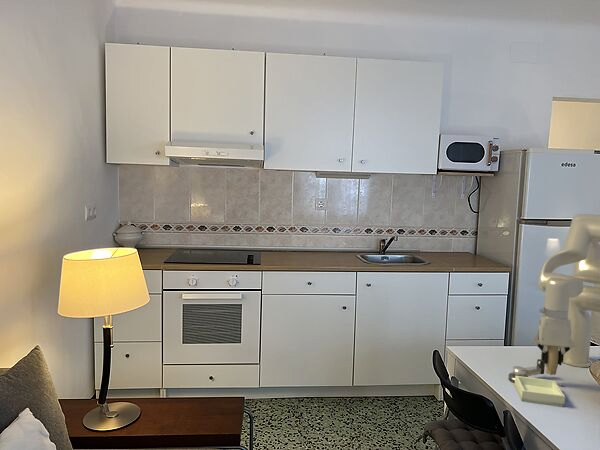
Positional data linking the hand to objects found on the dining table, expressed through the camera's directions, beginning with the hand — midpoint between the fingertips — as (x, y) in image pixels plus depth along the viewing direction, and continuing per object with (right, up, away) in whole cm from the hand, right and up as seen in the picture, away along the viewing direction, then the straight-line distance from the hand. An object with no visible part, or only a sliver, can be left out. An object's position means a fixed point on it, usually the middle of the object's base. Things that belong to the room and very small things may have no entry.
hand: (551, 362), depth 170 cm
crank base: (-5, -8, +1) cm, 9 cm away
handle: (0, -4, +1) cm, 4 cm away
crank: (-6, -6, +4) cm, 9 cm away
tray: (-9, -9, -9) cm, 16 cm away
